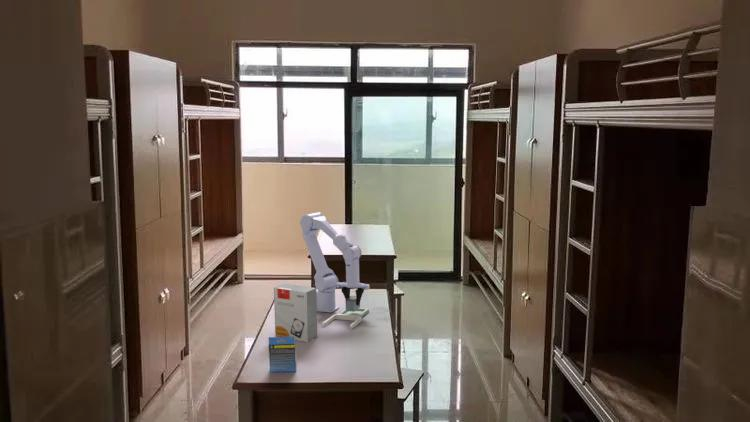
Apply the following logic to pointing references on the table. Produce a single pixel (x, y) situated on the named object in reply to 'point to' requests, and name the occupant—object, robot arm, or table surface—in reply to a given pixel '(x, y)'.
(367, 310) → the tray
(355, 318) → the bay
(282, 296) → the hard drive box
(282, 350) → the label tape cartridge
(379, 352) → the table surface
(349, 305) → the grey rectangular block
